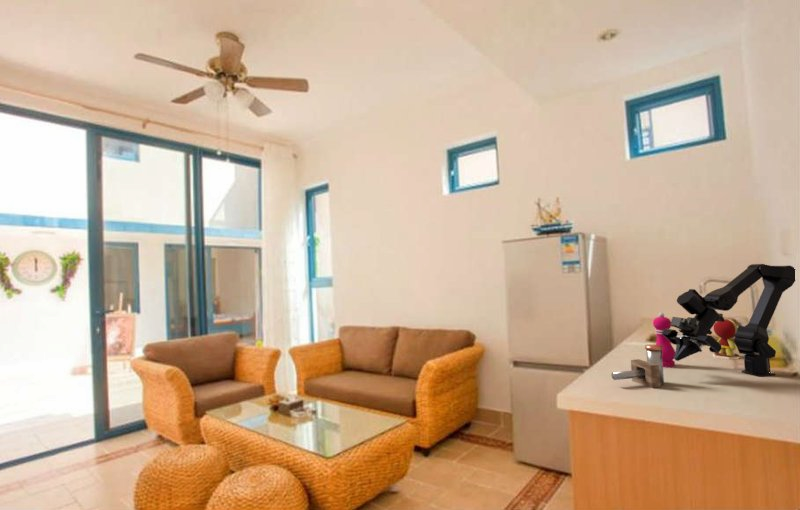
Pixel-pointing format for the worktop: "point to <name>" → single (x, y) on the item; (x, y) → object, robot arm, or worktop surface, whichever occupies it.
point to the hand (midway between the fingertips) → (675, 359)
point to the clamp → (652, 356)
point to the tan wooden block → (647, 373)
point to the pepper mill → (664, 340)
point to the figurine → (726, 339)
